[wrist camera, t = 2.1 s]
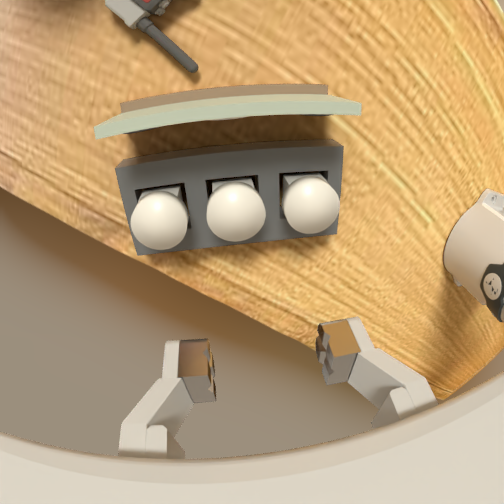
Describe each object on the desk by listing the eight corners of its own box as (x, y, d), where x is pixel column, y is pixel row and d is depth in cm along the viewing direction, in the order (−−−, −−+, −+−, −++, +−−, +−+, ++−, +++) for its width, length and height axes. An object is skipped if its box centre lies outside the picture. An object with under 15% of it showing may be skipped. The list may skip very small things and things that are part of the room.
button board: (332, 139, 30) (343, 146, 27) (327, 221, 35) (336, 234, 33) (123, 159, 28) (115, 168, 26) (142, 241, 34) (137, 255, 31)
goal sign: (324, 84, 26) (361, 91, 19) (324, 112, 28) (360, 127, 21) (123, 102, 25) (91, 114, 18) (127, 130, 26) (98, 152, 19)
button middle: (257, 169, 29) (264, 186, 25) (259, 216, 32) (266, 238, 28) (204, 175, 28) (203, 192, 25) (210, 221, 31) (210, 244, 28)
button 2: (325, 165, 29) (341, 181, 26) (322, 210, 32) (337, 231, 28) (275, 168, 29) (285, 184, 25) (276, 214, 32) (285, 236, 28)
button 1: (186, 177, 28) (182, 194, 25) (193, 223, 31) (191, 246, 28) (136, 184, 28) (124, 203, 24) (146, 229, 31) (138, 252, 27)
